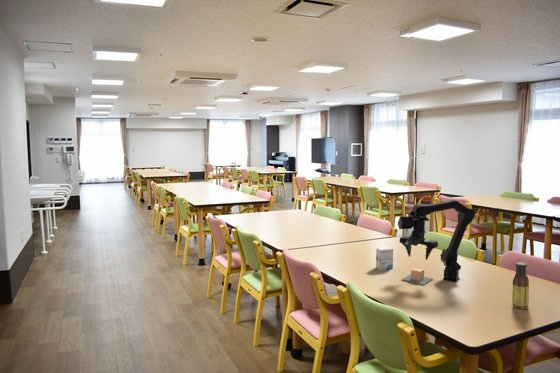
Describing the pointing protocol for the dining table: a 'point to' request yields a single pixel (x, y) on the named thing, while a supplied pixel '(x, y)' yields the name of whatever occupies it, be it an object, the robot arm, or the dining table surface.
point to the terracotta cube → (417, 274)
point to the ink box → (384, 258)
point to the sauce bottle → (520, 287)
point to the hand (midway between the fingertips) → (417, 258)
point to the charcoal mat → (422, 282)
